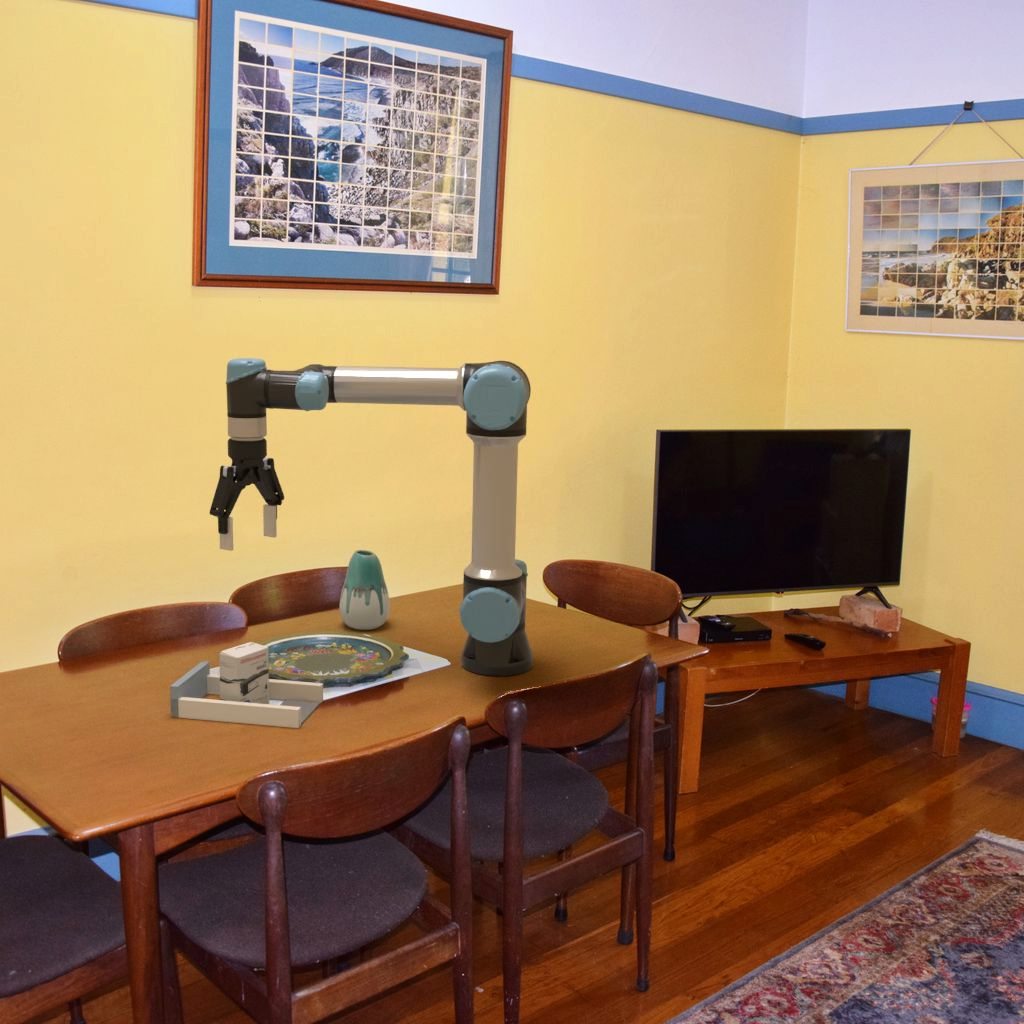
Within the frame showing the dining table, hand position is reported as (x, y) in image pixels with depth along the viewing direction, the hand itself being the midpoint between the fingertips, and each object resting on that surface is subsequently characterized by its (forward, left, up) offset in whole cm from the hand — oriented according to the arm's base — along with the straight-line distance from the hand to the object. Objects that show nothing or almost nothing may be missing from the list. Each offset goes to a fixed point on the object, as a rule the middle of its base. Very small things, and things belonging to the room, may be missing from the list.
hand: (248, 543), depth 242 cm
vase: (-13, -37, -28) cm, 48 cm away
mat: (-16, +19, -27) cm, 37 cm away
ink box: (-6, +19, -28) cm, 34 cm away
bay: (-7, +19, -27) cm, 34 cm away
